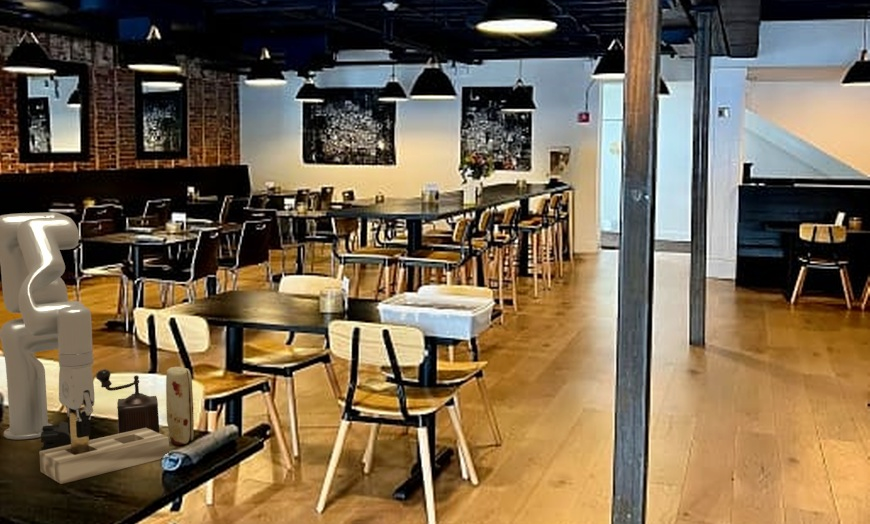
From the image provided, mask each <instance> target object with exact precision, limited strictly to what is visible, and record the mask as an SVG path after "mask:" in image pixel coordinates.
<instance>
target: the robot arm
mask: <svg viewBox="0 0 870 524" xmlns="http://www.w3.org/2000/svg"><path fill="white" fill-rule="evenodd" d="M79 237H80V234H79V230H78V227H77V225H76V223H75V221H74V220H73V219H72V218H71V217H69V216H67V215H65V214H62V213H59V212H50V211H49V212H29V213H28V212H26V213H25V212H22V213H21V212H20V213H9V214H1V215H0V274H1V287H2V298H3V303H4V304H3V305H4V307H5V309H6V310H7V312H9V313H12V314H21V317H20V318H14V319H10V320H8V321H6V322H5V323H4V324H3V325H1V328H0V342H1V346H2V347H1V348H2V352H3V355H4V361H5V373H6V374H5V375H6V387H7V399H8V400H7V401H8V404H7V405H8V417H9V427H8V428H6V429H5V430H4V431H3V437H4V438H5V439H8V440H30V439H37V438H41V432H43V431H42V428H43V426H50V425H53V424H52V423H49V418H48V415H49V414H48V401H47V383H46V382H47V381H46V369H45V366H44V364H43V362H42V361H41V360H39V359H38V358H37V357H36V356H35V354H36V353H40V352H44V351H45V352H46V351H52V350H53V351H54V350H58V367H59V370H58V371H59V372H58V401H59V403H60V404H61V405H62V406H65V407H66V415H67V423H68V432H69V433H70V414H69V413H70V412H72V411H76V412H77V420H78V421H76V434H77V437H78V438H81V437H86V436H89V437H90V436H91V434H92V433H91V432H92V431H91V430H92V429H91V419H92V416H91V415H92V413H93V412H94V409H93V408H94V407H93V406H94V405H95V386H94V385H95V384H94V378H93V377H94V375H93V369H92V366H93V365H94V349H93V327H92V313H91V309H90V308H89V307H86V306H85V305H84V304H83V302H81V301H77V300H71V301H69V296H68V289H67V286H66V284H65V281H64V280H63V279H62V277H61V276H63V274H64V273H65V270H66V265H65V262H64V259H63V256H62V253H61V251H62V250H63V251H64V250H71V249H75V248H76V247H77V246H78V244H79V240H80V239H79ZM60 250H61V251H60ZM81 410H84V411H83V412H82V414H81Z"/></svg>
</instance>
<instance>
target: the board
mask: <svg viewBox="0 0 870 524" xmlns="http://www.w3.org/2000/svg"><path fill="white" fill-rule="evenodd" d="M169 440H170V436H167V435H165V434H162V433H160V432H159V433H157V432H155V431H153V430H150V429H148V428H142V429H138V430H133V431H129V432H124V433H120V434H118V433H116V434H110V435H107V436H104V437H103V436H102V437H98V438H93V439H89V452H85V453H81V454H77V455H73V454H71V444H70V445H66V446H61V447H57V448H52V449H48V450H43V451H42V450H40V451H39V453H38V454H39V465H40V467H39V468H40V470H39V471H40V473H42V474H44V475H45V476H47V477H49V478H50V479H52V480H53V481H55V482H57V483H59V484H60V485H63V484H67V483H71V482H75V481H78V480H84V479H88V478H90V477H91V478H92V477H94V476H98V475H99V476H100V475H103V474H106V473H110V472H111V473H112V472H116V471H119V470H122V469H127V468H131V467H135V466H139V465H143V464H147V463H151V462H155V461H159V460H162V459H161V458H162V457H163V456H164V455H165V454H167V453H169V454H170V441H169Z"/></svg>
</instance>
